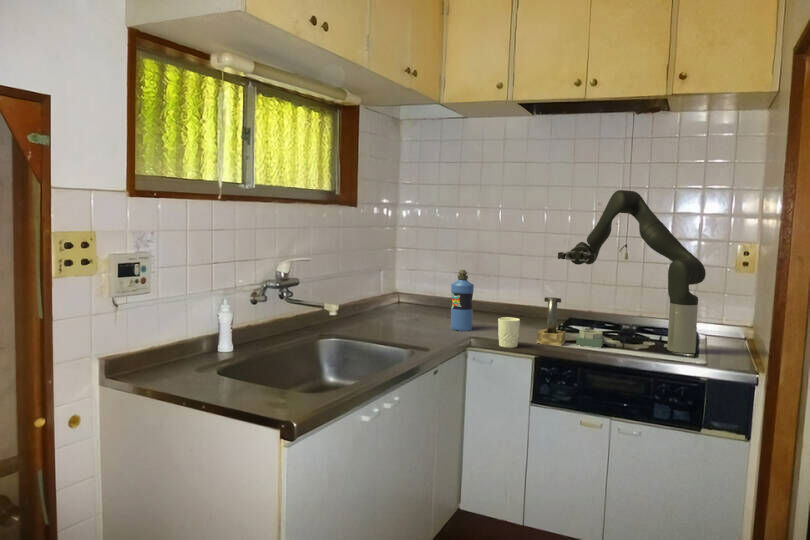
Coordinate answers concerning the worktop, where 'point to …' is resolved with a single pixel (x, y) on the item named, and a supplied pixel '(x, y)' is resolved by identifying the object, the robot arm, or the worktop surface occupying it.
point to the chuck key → (552, 314)
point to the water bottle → (462, 303)
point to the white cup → (508, 331)
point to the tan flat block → (551, 337)
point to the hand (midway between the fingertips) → (573, 257)
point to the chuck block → (592, 338)
